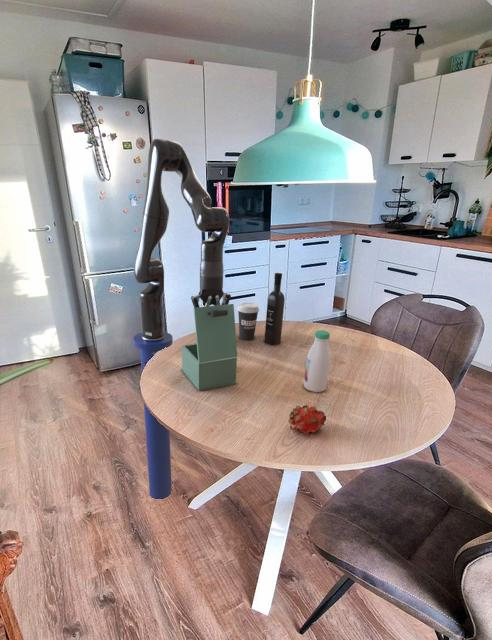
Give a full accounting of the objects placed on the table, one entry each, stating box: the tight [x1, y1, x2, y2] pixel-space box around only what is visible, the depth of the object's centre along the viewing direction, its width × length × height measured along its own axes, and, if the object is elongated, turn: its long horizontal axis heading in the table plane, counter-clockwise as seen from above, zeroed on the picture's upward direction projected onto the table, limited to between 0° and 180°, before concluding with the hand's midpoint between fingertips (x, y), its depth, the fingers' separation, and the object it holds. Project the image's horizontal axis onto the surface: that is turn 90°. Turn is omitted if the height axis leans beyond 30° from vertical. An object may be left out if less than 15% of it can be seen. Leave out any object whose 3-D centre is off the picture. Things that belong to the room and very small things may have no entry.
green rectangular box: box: [181, 342, 238, 392], centre depth 135 cm, size 17×14×10 cm
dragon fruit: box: [288, 404, 327, 437], centre depth 107 cm, size 8×8×12 cm
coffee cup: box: [237, 302, 260, 341], centre depth 170 cm, size 10×10×15 cm
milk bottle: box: [303, 329, 332, 393], centre depth 128 cm, size 8×8×20 cm
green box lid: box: [193, 303, 238, 363], centre depth 122 cm, size 17×14×5 cm
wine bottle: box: [263, 272, 286, 346], centre depth 163 cm, size 6×6×30 cm
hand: (210, 324), depth 131 cm, fingers closed on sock, 4 cm apart
